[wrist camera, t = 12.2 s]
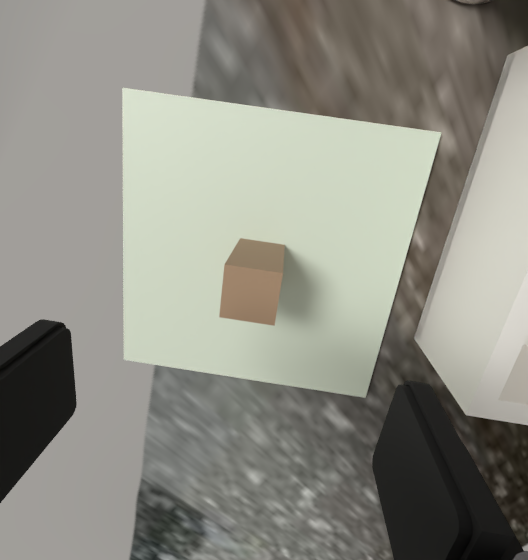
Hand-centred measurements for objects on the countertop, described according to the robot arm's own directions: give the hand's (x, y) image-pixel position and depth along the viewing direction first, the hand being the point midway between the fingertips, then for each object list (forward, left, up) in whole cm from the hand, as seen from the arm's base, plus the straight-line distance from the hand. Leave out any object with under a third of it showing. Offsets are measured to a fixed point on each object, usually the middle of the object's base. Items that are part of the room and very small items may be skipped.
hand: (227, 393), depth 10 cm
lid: (+1, 0, -16) cm, 16 cm away
